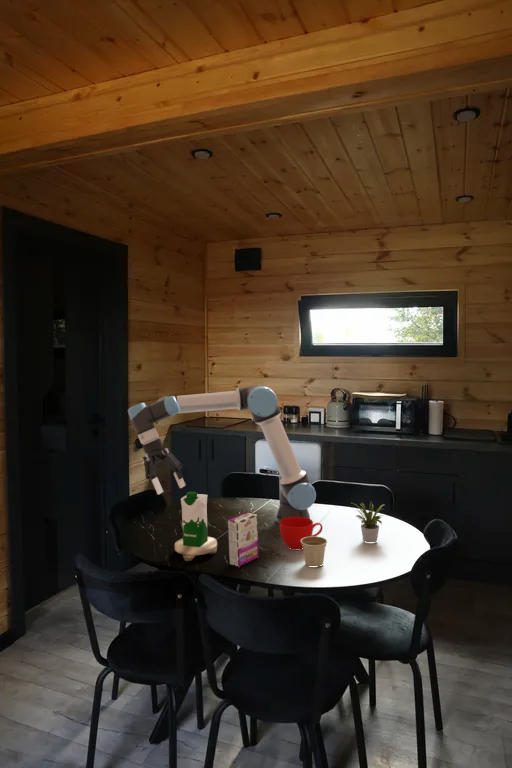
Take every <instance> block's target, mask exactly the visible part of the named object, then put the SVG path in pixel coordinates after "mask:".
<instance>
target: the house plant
mask: <svg viewBox="0 0 512 768" xmlns="http://www.w3.org/2000/svg"><path fill="white" fill-rule="evenodd" d="M351 504H353V505H355V506H357V504H356V503H353V502H351ZM359 505H360V506H361V507H357V508H355V509H356V511H357V512H358V513H360V515H359V514H356V515H355V518H358V519H359V520H360V521H361V524H360V529H361V537H362V540H364V541H366V542H376V541H377V542H378V536H379V532H380V531H379V530H380V526H379V524H378V523H380V525H382V524H383V522H382V521H381V520H380V519H383V516H380V515H378V513H379V512H380V511H381V510H382V507H383V506H385V505H386V503H385V504H381V505H380V506H378V508H377V509H376V510H375V511H374V503H373V501H370V504H369V510H368V511H367V508H366V505H365V504H364V503H363V502H361V503H360V502H359ZM364 541H363V542H364ZM377 542H376V543H377Z"/></svg>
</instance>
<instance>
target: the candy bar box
mask: <svg viewBox="0 0 512 768" xmlns="http://www.w3.org/2000/svg"><path fill="white" fill-rule="evenodd" d="M227 525H228V526H227V527H228V528H227V529H228V533H227V534H228V552H229V555H228V556H229V565H231V566H234V565H235V566H234V567H237V566H238V568H240V566H241V565H243V566H245V565H246V563H247V564H249V563H251V562H252V560H253V561H254V559H255V560H256V558H257V559H259V558H260V556H259V555H260V553H259V529H258V528H259V527H258V514H256V513H252V512H245V513H243V514H241V515H238V516H236V517H233V518H230V519H228V520H227ZM250 561H251V562H250ZM248 562H249V563H248ZM244 564H245V565H244ZM241 567H242V566H241Z"/></svg>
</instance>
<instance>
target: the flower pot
mask: <svg viewBox="0 0 512 768" xmlns="http://www.w3.org/2000/svg"><path fill="white" fill-rule="evenodd" d="M301 543H302V546H303V549H302V550H303V556H304V561H305V562H304V563H305V565H306V564H307V565H309V566H319V567H320V565H322V564H323V565H324V559H325V551H326V546H327V543H328V539H326V538H325V537H322V536H318V535H317V536H311V537H305V538H303V539H301ZM307 565H306V566H307ZM323 565H322V566H323Z"/></svg>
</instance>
